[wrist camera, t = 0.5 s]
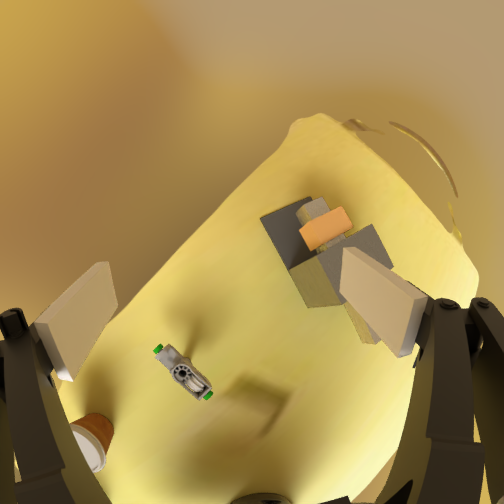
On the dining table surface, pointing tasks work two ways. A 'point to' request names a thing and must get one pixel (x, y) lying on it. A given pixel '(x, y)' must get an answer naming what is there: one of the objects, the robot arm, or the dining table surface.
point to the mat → (288, 234)
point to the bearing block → (334, 268)
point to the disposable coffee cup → (93, 439)
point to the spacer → (325, 228)
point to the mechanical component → (184, 372)
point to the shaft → (310, 213)
